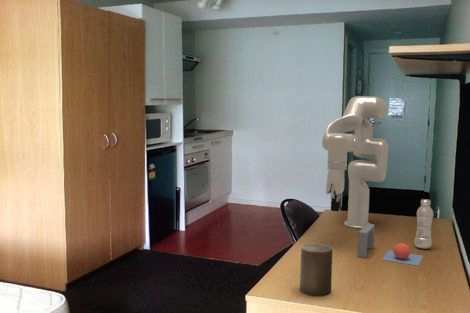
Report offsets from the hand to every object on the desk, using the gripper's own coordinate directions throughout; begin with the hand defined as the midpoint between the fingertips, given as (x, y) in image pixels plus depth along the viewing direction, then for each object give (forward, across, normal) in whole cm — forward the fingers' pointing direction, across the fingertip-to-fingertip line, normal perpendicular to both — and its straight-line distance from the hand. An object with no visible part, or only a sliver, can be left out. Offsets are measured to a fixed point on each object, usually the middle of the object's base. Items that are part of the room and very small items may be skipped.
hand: (335, 210), depth 191 cm
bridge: (+15, 0, +13) cm, 20 cm away
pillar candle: (+15, +47, +8) cm, 50 cm away
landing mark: (+15, 0, +27) cm, 31 cm away
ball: (+12, +1, +27) cm, 29 cm away
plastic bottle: (+15, -18, +32) cm, 40 cm away
